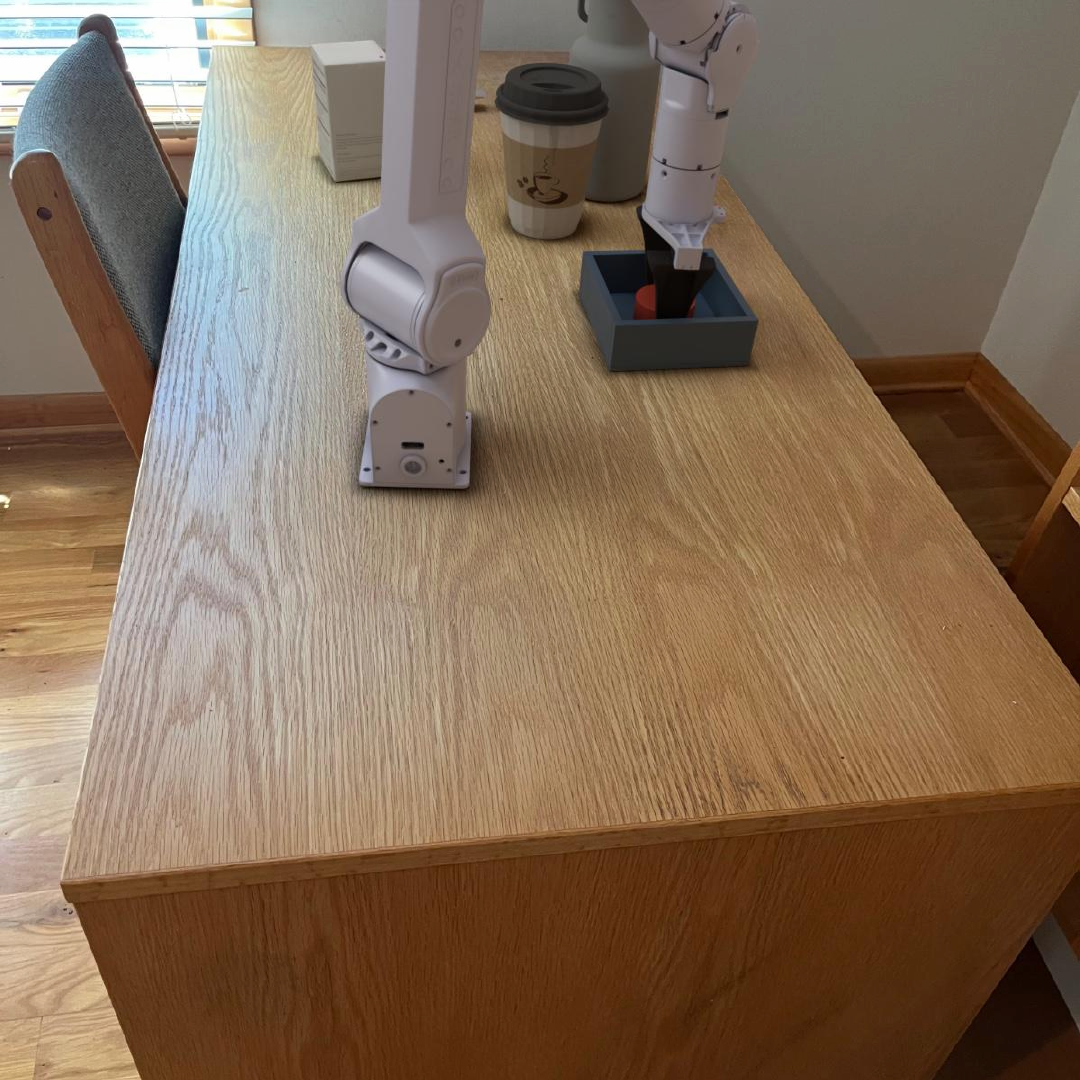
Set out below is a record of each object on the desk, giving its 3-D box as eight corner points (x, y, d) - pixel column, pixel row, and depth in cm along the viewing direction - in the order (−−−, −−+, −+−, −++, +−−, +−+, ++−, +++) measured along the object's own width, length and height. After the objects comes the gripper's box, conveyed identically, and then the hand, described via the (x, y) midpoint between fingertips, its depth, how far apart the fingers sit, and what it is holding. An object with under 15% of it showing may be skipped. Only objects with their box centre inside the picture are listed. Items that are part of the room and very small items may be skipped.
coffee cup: (486, 244, 105) (491, 92, 95) (494, 198, 113) (498, 55, 103) (597, 252, 105) (613, 101, 95) (596, 206, 113) (610, 63, 104)
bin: (748, 365, 90) (759, 320, 87) (609, 371, 88) (615, 325, 85) (704, 291, 100) (712, 247, 97) (578, 294, 98) (582, 250, 95)
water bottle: (548, 170, 120) (567, -108, 102) (627, 166, 123) (659, -106, 104) (573, 206, 113) (598, -86, 94) (656, 201, 115) (696, -84, 97)
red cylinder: (695, 340, 92) (700, 314, 90) (635, 337, 92) (639, 311, 90) (687, 310, 96) (691, 284, 94) (629, 308, 96) (633, 282, 94)
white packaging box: (380, 152, 121) (375, 38, 113) (397, 177, 116) (393, 59, 108) (318, 158, 119) (308, 41, 111) (333, 183, 114) (323, 63, 105)
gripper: (751, 196, 78) (720, 350, 87) (720, 127, 89) (695, 271, 98) (660, 191, 78) (638, 347, 87) (640, 123, 89) (622, 268, 98)
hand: (663, 306), depth 93 cm, fingers open, 7 cm apart
